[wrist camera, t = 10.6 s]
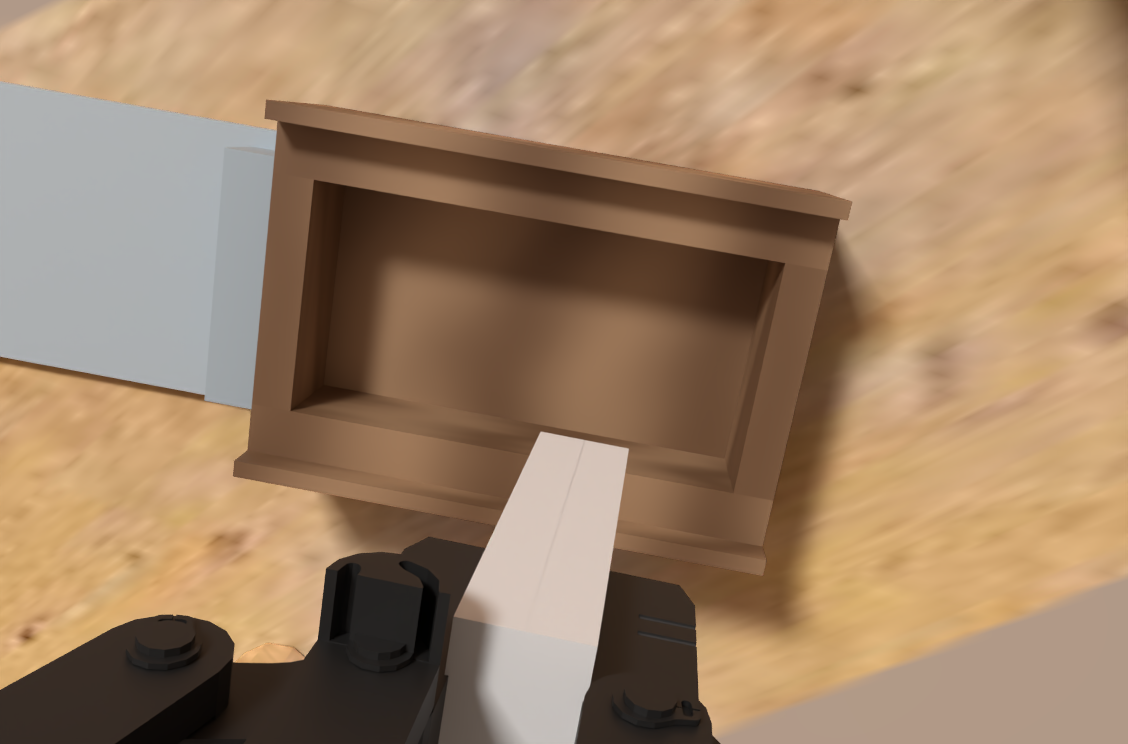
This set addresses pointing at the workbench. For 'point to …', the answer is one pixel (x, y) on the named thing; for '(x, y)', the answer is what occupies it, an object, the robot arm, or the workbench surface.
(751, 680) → the workbench surface
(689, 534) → the case
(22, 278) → the lid
